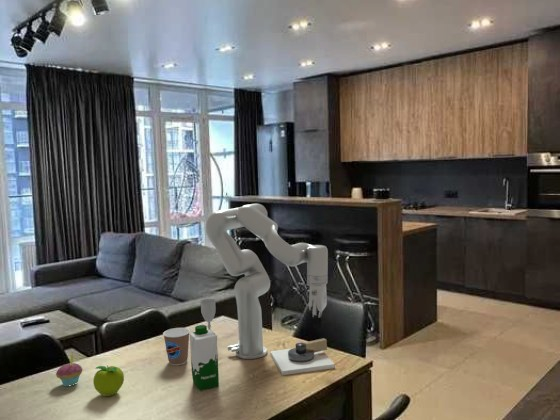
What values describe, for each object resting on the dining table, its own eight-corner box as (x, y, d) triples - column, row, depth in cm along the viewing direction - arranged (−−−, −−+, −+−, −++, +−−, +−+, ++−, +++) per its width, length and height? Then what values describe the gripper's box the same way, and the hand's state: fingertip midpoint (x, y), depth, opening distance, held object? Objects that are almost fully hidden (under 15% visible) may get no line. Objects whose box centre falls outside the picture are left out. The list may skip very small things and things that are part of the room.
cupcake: (88, 380, 172) (86, 348, 171) (71, 390, 164) (68, 357, 163) (69, 377, 175) (67, 346, 174) (51, 387, 166) (48, 354, 166)
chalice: (219, 338, 210) (217, 298, 209) (216, 343, 203) (214, 302, 202) (203, 338, 211) (201, 298, 209) (199, 344, 204) (197, 303, 203)
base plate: (282, 375, 169) (281, 370, 169) (270, 354, 189) (270, 350, 188) (334, 368, 174) (334, 363, 174) (318, 348, 193) (318, 344, 193)
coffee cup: (159, 365, 183) (157, 335, 182) (174, 355, 192) (173, 326, 191) (181, 368, 179) (180, 337, 178) (196, 358, 188) (194, 328, 187)
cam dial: (295, 364, 174) (295, 351, 174) (283, 355, 183) (283, 343, 183) (332, 355, 181) (332, 342, 181) (319, 347, 190) (318, 335, 190)
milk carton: (213, 377, 170) (210, 322, 169) (222, 386, 162) (219, 329, 161) (189, 382, 166) (186, 327, 165) (197, 393, 158) (194, 334, 157)
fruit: (107, 403, 153) (105, 373, 153) (89, 396, 158) (87, 367, 158) (130, 391, 161) (128, 363, 160) (112, 385, 166) (110, 358, 165)
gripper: (323, 284, 166) (323, 335, 168) (331, 274, 180) (330, 321, 182) (302, 283, 168) (302, 332, 170) (312, 273, 183) (311, 319, 184)
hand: (317, 326), depth 176 cm, fingers closed
